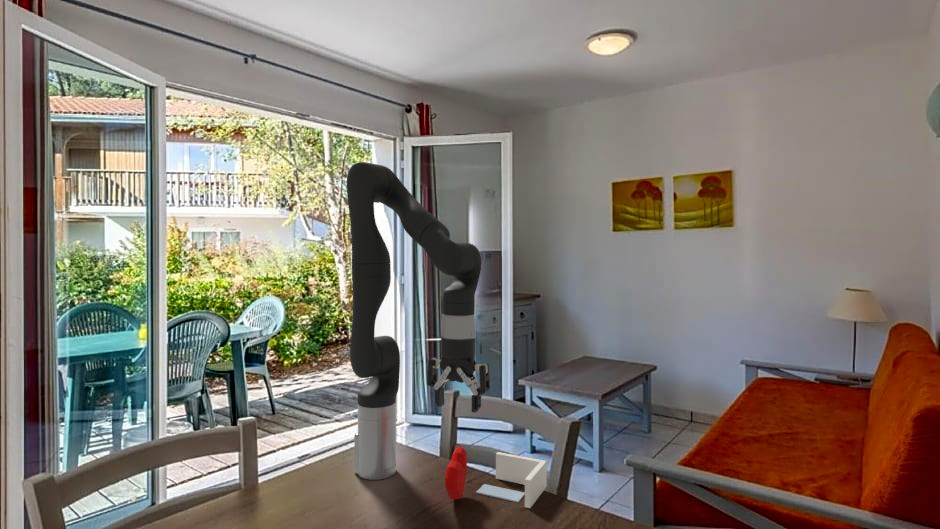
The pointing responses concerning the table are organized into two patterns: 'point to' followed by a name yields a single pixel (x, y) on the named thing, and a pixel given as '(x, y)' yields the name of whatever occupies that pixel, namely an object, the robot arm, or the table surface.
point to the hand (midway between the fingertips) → (457, 408)
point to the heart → (456, 474)
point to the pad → (501, 493)
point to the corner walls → (523, 474)
